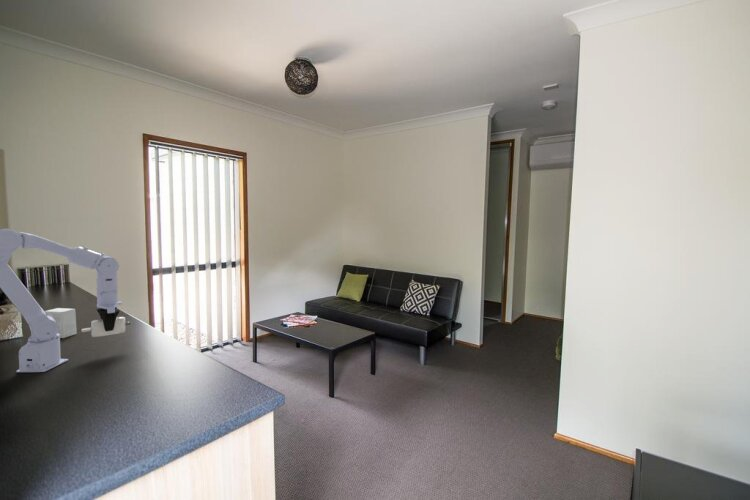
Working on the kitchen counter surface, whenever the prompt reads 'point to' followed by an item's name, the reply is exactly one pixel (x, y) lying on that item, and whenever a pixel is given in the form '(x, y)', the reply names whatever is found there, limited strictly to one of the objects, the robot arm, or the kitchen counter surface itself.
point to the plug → (99, 330)
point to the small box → (64, 320)
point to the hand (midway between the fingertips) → (108, 329)
